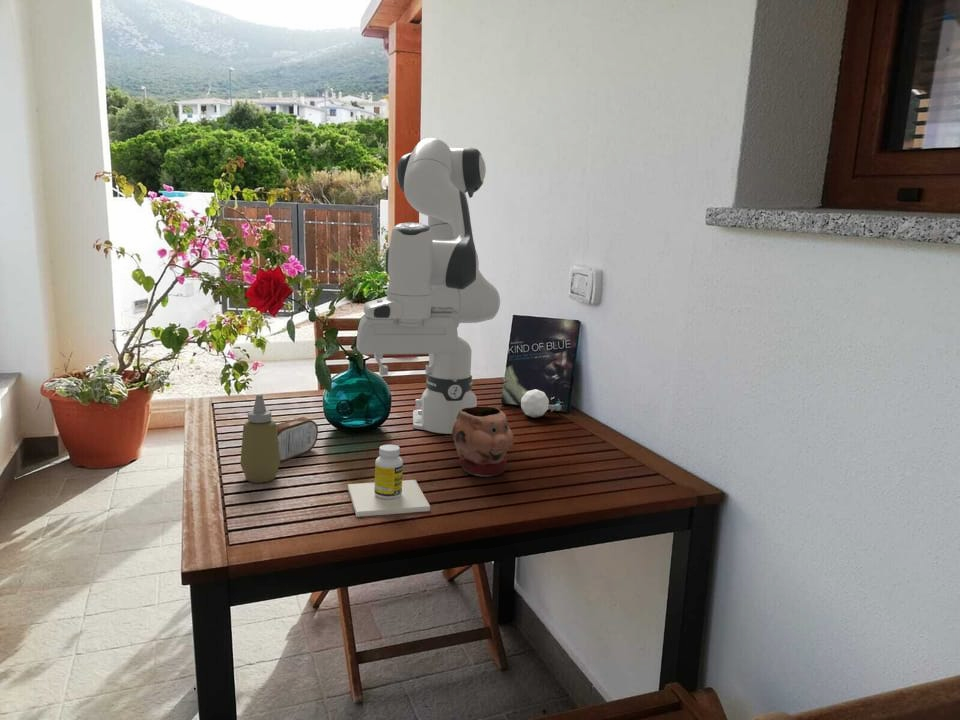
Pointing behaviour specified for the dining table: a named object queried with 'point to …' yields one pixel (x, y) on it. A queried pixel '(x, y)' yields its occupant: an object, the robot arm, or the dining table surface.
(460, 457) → the decorative planter
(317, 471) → the dining table surface
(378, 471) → the supplement bottle
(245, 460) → the squeeze bottle
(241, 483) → the dining table surface
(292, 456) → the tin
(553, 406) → the perfume bottle
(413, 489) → the tile
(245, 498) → the dining table surface
